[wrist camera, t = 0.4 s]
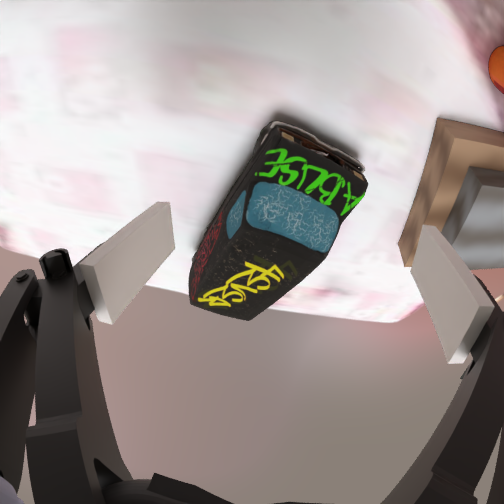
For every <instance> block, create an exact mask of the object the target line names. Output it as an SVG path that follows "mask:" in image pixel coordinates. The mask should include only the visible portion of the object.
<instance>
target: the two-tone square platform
mask: <svg viewBox="0 0 504 504" xmlns="http://www.w3.org/2000/svg"><path fill="white" fill-rule="evenodd" d="M423 225H430V226H436V228H437V229H438V230H439V231H440V232H441V234H442V235H443V236H444V237H445V238H446V240H447V241H448V242H449V243H450V245H451V246H452V247H453V248H454V250H455V251H456V252H457V254H458V255H459V256H460V257H461V259H462V260H463V261H464V263H465V264H466V265H467V267H468V268H469V269H470V270H476V269H492V268H504V133H502V132H499V131H495V130H491V129H488V128H484V127H479V126H475V125H471V124H466V123H462V122H457V121H452V120H446V119H441V118H437V122H436V126H435V130H434V134H433V138H432V142H431V146H430V150H429V154H428V157H427V161H426V164H425V168H424V171H423V174H422V178H421V181H420V184H419V187H418V190H417V193H416V196H415V199H414V202H413V205H412V208H411V211H410V214H409V217H408V219H407V222H406V225H405V227H404V230H403V233H402V235H401V238H400V240H399V243H398V246H399V249H400V252H401V256H402V259H403V263H404V267H412V264H413V260H414V257H415V253H416V250H417V246H418V242H419V238H420V234H421V230H422V226H423Z"/></svg>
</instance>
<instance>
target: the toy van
mask: <svg viewBox="0 0 504 504" xmlns="http://www.w3.org/2000/svg"><path fill="white" fill-rule="evenodd" d="M358 167H359V168H358ZM364 171H365V167H364V166H363V164H362V163H360V162H359V161H358V160H356V159H355V158H353V157H351V156H349V155H348V154H346V153H344V152H342V151H341V150H339V149H337V148H335V147H333V146H332V145H329V144H327V143H325V142H323V141H322V140H320V139H318V138H317V137H315V136H314V135H312V134H310V133H308V132H307V131H305V130H303V129H301V128H299V127H296V126H293V125H290V124H286V123H283V122H279V121H275V122H271V123H269V124H268V125H267V126H266V127H264V128H263V129H262V131H261V132H260V135H259V138H258V139H257V143H256V145H255V149H254V154H253V157H252V159H251V160H250V161H249V163H248V165H247V166H246V168H245V169H244V171H243V172H242V174H241V175H240V177H239V178H238V180H237V181H236V183H235V184H234V186H233V187H232V189H231V190H230V192H229V194H228V195H227V197H226V199H225V200H224V202H223V204H222V206H221V207H220V209H219V211H218V213H217V214H216V216H215V218H214V219H213V221H212V223H210V224H209V226H208V227H207V231H206V232H205V234H204V239H203V241H202V243H201V245H200V246H199V248H198V250H197V252H196V253H195V254H194V256H193V258H192V266H191V270H190V274H189V297H190V304H191V305H194V306H196V307H199V308H202V309H204V310H208V311H211V312H214V313H217V314H220V315H224V316H228V317H232V318H236V319H242V320H246V321H249V320H251V319H253V318H254V317H256V316H257V315H258V314H260V313H261V312H263V311H264V310H265V309H267V308H268V307H269V306H271V305H272V304H274V303H275V302H276V301H277V300H279V299H280V298H281V297H282V296H284V295H285V294H286V293H287V292H289V291H290V290H291V289H292V288H294V287H295V286H296V285H297V284H299V283H300V282H301V281H302V280H303V279H304V278H305V277H306V276H308V275H309V274H310V273H311V272H312V271H313V270H314V269H315V268H316V267H318V266H319V265H320V264H321V263H322V262H323V261H324V260H325V258H326V257H327V255H328V253H329V251H330V249H331V247H332V245H333V243H334V241H335V239H336V237H337V234H338V232H339V229H340V226H341V224H342V222H343V221H344V220H345V219H346V217H347V216H348V215H349V214H350V213H351V211H352V210H353V209H354V208H355V206H356V205H357V204H358V203H359V202H360V201H361V199H362V198H363V197H364V195H365V192H366V189H367V186H368V182H367V180H366V178H365V176H364V175H363V174H362V173H363V172H364Z"/></svg>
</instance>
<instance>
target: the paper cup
mask: <svg viewBox="0 0 504 504" xmlns="http://www.w3.org/2000/svg"><path fill="white" fill-rule="evenodd" d="M489 75H490V78H491V80H492V82H493V84H494V85H495V86H496V87H497V88H498V89H499V90H500V91H501V92H502V93H503V94H504V46H500V47H498V48H496V49H495V50H494V51H493V52H492V54H491V56H490V59H489Z"/></svg>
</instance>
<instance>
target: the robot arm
mask: <svg viewBox="0 0 504 504" xmlns="http://www.w3.org/2000/svg"><path fill="white" fill-rule="evenodd" d="M174 249H175V243H174V235H173V227H172V218H171V208H170V202H156V203H155V204H154V205H152V206H151V207H150V208H148V209H147V210H146V211H144V212H143V213H142V214H140V215H139V216H138V217H136V218H135V219H134V220H132V221H131V222H130V223H128V224H127V225H126V226H124V227H123V228H122V229H121V230H119V231H118V232H117V233H116V234H114V235H113V236H112V237H111V238H109V239H108V240H107V241H106V242H104V243H102V244H100V245H99V246H97V247H96V248H95V249H94V250H93V251H91V252H90V253H89V254H88V256H85V257H84V258H83V259H82V260H81V261H79V262H78V263H77V264H76V265H75V266H74V267H72V264H71V260H70V257H69V254H68V251H67V250H66V249H61V248H60V249H55V250H52V251H49V252H47V253H46V254H44V255H43V256H42V257H41V258H40V260H39V262H40V265H41V268H42V271H43V273H44V276H45V279H40V280H39V279H38V280H37V277H36V275H35V272H34V270H32V269H27V270H22V271H21V272H20V271H19V272H18V273H17V274H16V275H15V276H13V278H12V279H11V280H10V282H9V284H8V285H7V287H6V288H5V290H4V291H3V293H2V294H1V296H0V504H24V503H23V501H22V500H21V499H20V498H18V497H17V492H18V489H19V485H20V481H21V476H22V470H23V462H24V452H25V445H26V449H27V459H28V467H29V474H30V481H31V487H32V492H33V497H34V502H35V504H233V503H231V502H228V501H226V500H224V499H222V498H220V497H217V496H215V495H213V494H211V493H209V492H207V491H205V490H203V489H201V488H199V487H197V486H195V485H192V484H188V483H185V482H181V481H178V480H175V479H172V478H168V477H165V476H162V475H159V474H157V473H154V475H153V477H152V479H151V480H149V479H137V480H133V478H132V476H131V474H130V472H129V471H128V469H127V467H126V466H125V464H124V462H123V460H122V458H121V455H120V452H119V449H118V446H117V443H116V439H115V436H114V433H113V429H112V425H111V421H110V417H109V413H108V409H107V405H106V401H105V396H104V392H103V387H102V382H101V377H100V372H99V366H98V360H97V354H96V347H95V341H94V333H93V326H92V320H91V318H90V314H91V313H92V312H93V311H94V310H95V313H96V315H97V318H98V320H99V321H101V322H105V323H109V324H113V323H114V322H115V321H116V320H117V318H118V317H119V316H120V314H121V313H122V312H123V311H124V310H125V308H126V307H127V306H128V305H129V303H130V302H131V301H132V300H133V298H134V297H135V296H136V295H137V293H138V292H139V291H140V290H141V288H142V287H143V286H144V285H145V284H146V282H147V281H148V280H149V279H150V278H151V276H152V275H153V274H154V273H155V272H156V270H157V269H158V268H159V267H160V266H161V264H162V263H163V262H164V261H165V260H166V258H167V257H168V256H169V255H170V254H171V253H172V251H173V250H174ZM410 272H411V274H412V276H413V278H414V280H415V282H416V284H417V287H418V289H419V291H420V293H421V296H422V298H423V300H424V302H425V305H426V307H427V309H428V312H429V314H430V317H431V319H432V322H433V324H434V327H435V329H436V331H437V334H438V337H439V339H440V342H441V345H442V348H443V351H444V353H445V356H446V359H447V362H448V364H452V363H463V362H464V361H465V359H466V358H467V356H468V354H469V353H470V352H471V354H472V357H473V360H472V362H471V363H470V365H469V366H468V368H467V369H466V371H465V372H464V374H463V375H462V376H461V378H460V379H463V380H462V382H461V384H460V386H459V388H458V390H457V392H456V394H455V396H454V398H453V400H452V402H451V404H450V406H449V407H448V409H447V411H446V413H445V415H444V416H443V418H442V420H441V422H440V423H439V425H438V427H437V428H436V430H435V432H434V433H433V435H432V436H431V438H430V440H429V441H428V443H427V444H426V446H425V447H424V449H423V450H422V452H421V453H420V455H419V456H418V457H417V459H416V460H415V462H414V463H413V465H412V466H411V467H410V469H409V470H408V471H407V473H406V474H405V475H404V477H403V478H402V479H401V480H400V482H399V483H398V484H397V485H396V487H395V488H394V489H393V490H392V492H391V493H390V494H389V495H388V496H387V498H385V500H384V501H383V502H382V503H381V504H477V498H476V497H474V496H473V494H474V491H475V488H476V486H477V484H478V482H479V480H480V478H481V476H482V474H483V472H484V470H485V468H486V465H487V463H488V461H489V459H490V456H491V453H492V452H493V449H494V447H495V444H496V441H497V439H498V436H499V433H500V430H501V428H502V432H501V440H500V446H499V452H498V458H497V463H496V468H495V473H494V477H493V481H492V485H491V489H490V493H489V497H488V500H487V504H504V312H502V310H501V309H500V307H499V306H498V304H497V302H496V301H495V299H494V298H493V296H491V293H490V292H489V290H487V288H486V286H485V285H484V284H483V282H482V281H481V280H480V279H479V278H478V277H477V276H475V275H474V274H472V272H471V271H470V269H469V268H468V267H467V265H466V264H465V263H464V261H463V260H462V259H461V257H460V256H459V255H458V254H457V252H456V251H455V250H454V248H453V247H452V246H451V245H450V243H449V242H448V241H447V240H446V238H445V237H444V236H443V235H442V234H441V232H440V231H439V230H438V229H437V228H436V226H430V225H423V226H422V230H421V234H420V238H419V242H418V246H417V250H416V253H415V257H414V260H413V264H412V267H411V271H410ZM24 315H25V317H26V319H27V323H26V324H25V321H24ZM34 394H35V403H36V404H35V405H36V425H35V426H30V427H28V425H29V419H30V414H31V409H32V404H33V399H34ZM275 504H316V503H297V502H285V503H275ZM317 504H319V503H317Z"/></svg>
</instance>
